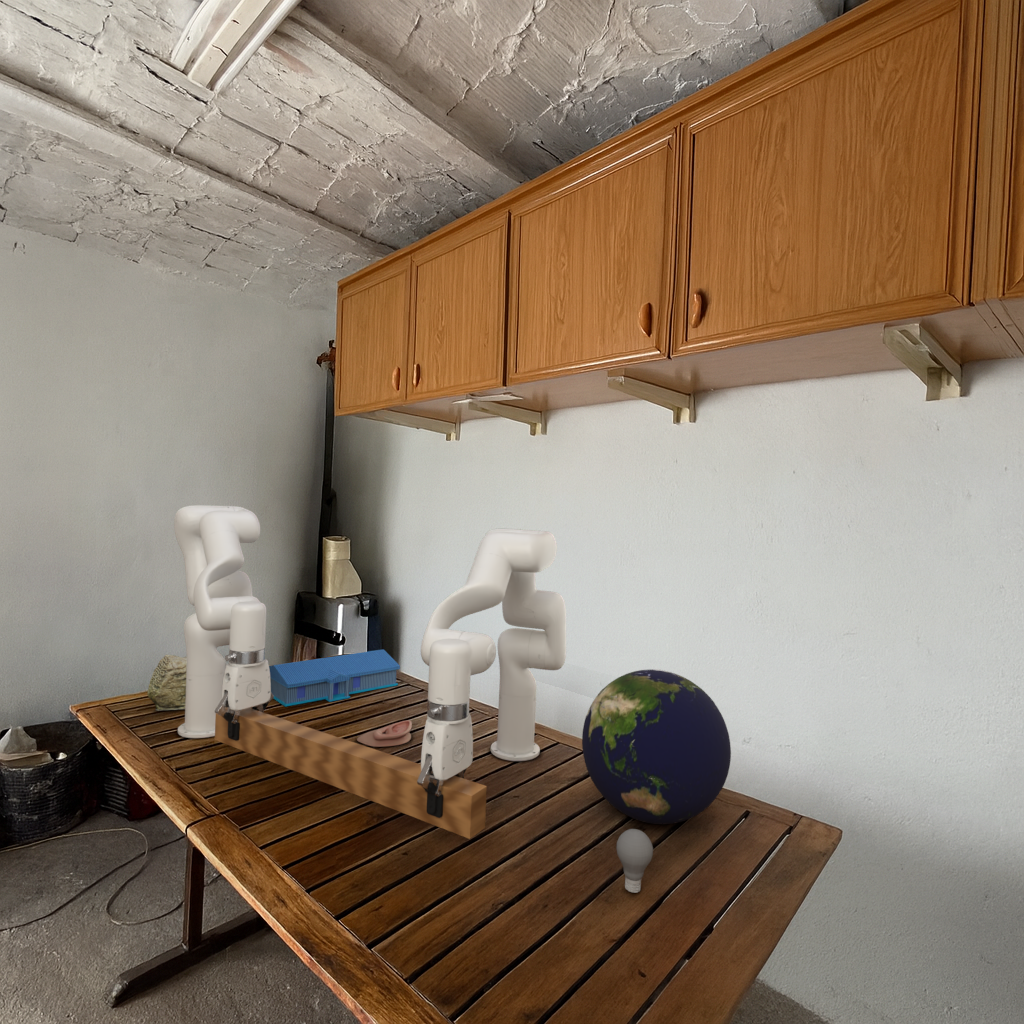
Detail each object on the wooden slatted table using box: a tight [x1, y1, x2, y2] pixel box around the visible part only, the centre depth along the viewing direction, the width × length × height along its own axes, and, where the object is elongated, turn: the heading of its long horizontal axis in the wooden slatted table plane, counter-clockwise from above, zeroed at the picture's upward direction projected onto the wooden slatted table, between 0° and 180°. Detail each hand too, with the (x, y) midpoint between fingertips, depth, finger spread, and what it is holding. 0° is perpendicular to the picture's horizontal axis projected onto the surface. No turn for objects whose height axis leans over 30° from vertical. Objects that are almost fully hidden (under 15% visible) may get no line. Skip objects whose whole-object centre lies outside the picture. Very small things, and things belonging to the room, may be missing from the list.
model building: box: [269, 649, 401, 707], centre depth 208 cm, size 39×24×10 cm, turn 132°
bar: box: [214, 707, 488, 840], centre depth 130 cm, size 73×5×8 cm, turn 58°
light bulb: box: [615, 828, 654, 894], centre depth 106 cm, size 6×6×10 cm
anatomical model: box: [356, 719, 413, 748], centre depth 166 cm, size 13×4×12 cm
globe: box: [581, 668, 732, 825], centre depth 131 cm, size 30×30×30 cm
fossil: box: [147, 654, 187, 712], centre depth 185 cm, size 9×18×15 cm, turn 132°
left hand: (244, 734), depth 145 cm, fingers closed on bar, 4 cm apart
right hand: (444, 808), depth 115 cm, fingers closed on bar, 4 cm apart
